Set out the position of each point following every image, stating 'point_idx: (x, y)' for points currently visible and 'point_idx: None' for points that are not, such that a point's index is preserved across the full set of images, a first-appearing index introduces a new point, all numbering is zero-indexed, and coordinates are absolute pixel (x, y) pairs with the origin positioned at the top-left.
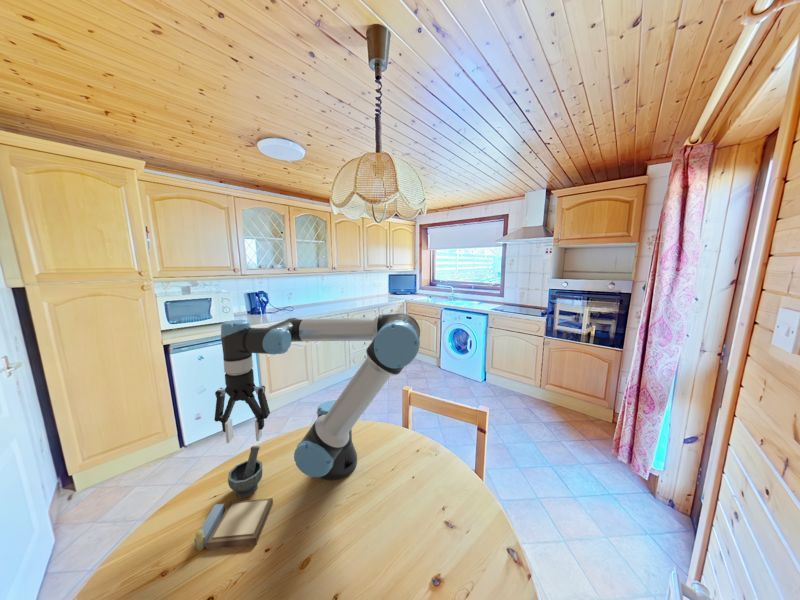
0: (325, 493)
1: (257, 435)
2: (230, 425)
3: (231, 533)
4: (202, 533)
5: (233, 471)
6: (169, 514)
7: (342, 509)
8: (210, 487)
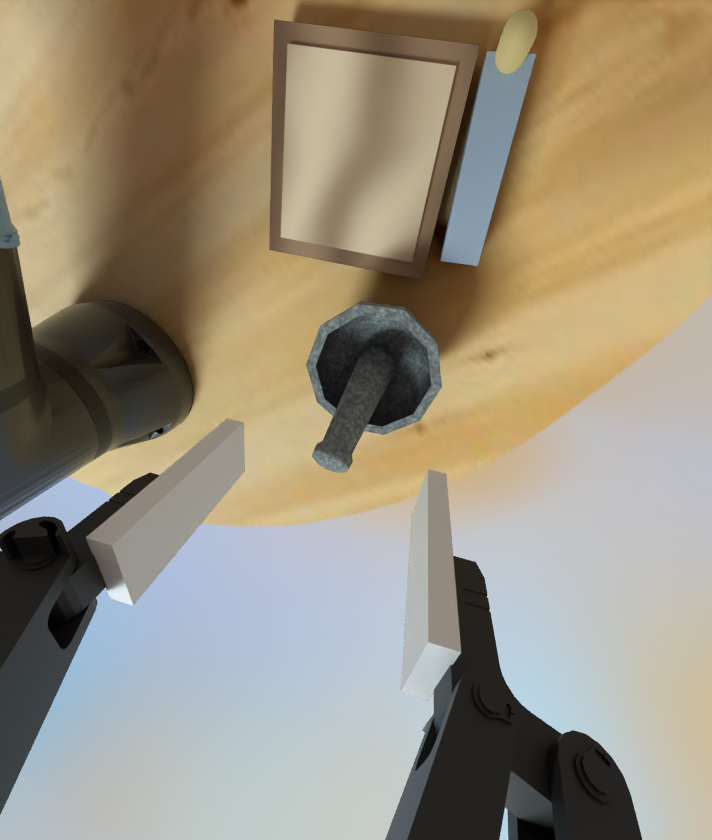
0: (122, 246)
1: (206, 443)
2: (413, 607)
3: (379, 69)
4: (503, 30)
5: (425, 393)
6: (647, 315)
7: (41, 148)
8: (512, 402)
